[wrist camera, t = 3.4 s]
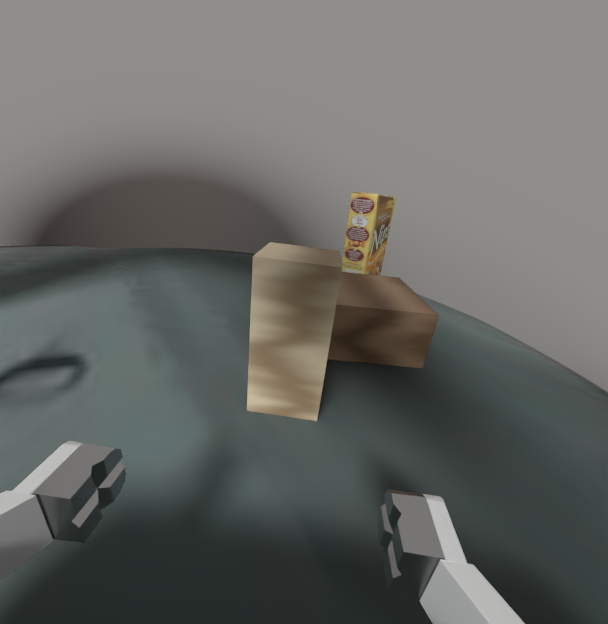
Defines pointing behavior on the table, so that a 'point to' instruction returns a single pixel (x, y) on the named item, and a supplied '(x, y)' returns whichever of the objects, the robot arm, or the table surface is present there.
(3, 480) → the table surface
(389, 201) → the candy box
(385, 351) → the walnut block
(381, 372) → the table surface
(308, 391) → the maple block
